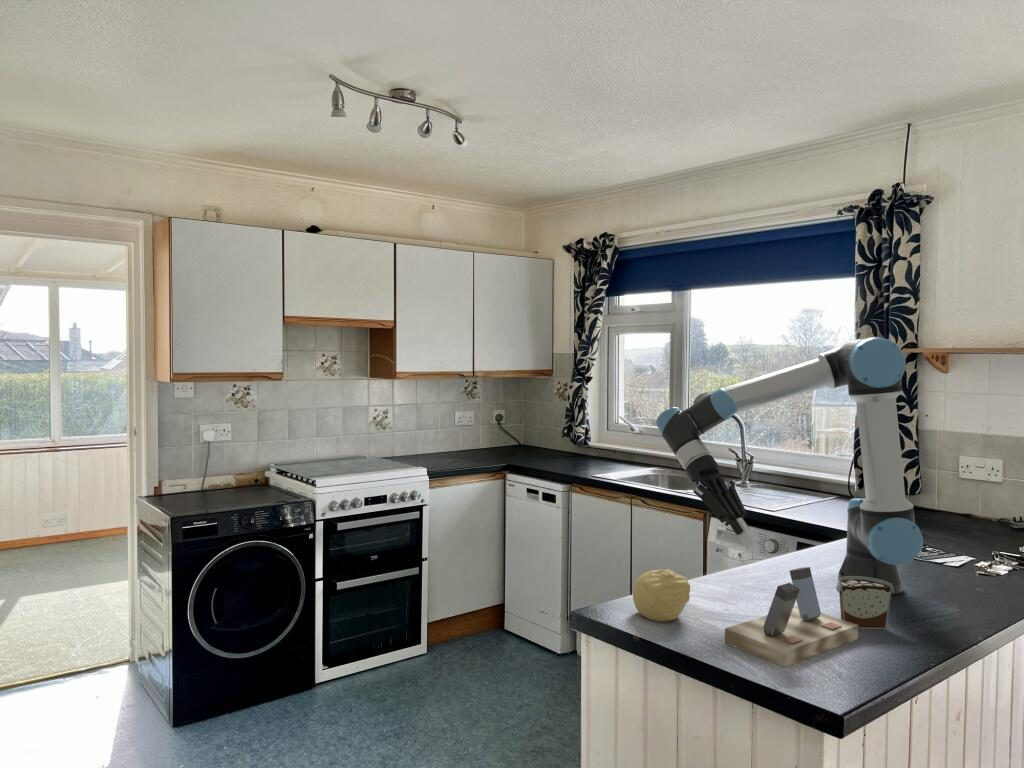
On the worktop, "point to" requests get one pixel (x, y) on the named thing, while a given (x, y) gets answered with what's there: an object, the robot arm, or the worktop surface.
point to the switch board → (792, 637)
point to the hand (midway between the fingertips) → (751, 545)
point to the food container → (864, 601)
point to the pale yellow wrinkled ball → (661, 594)
